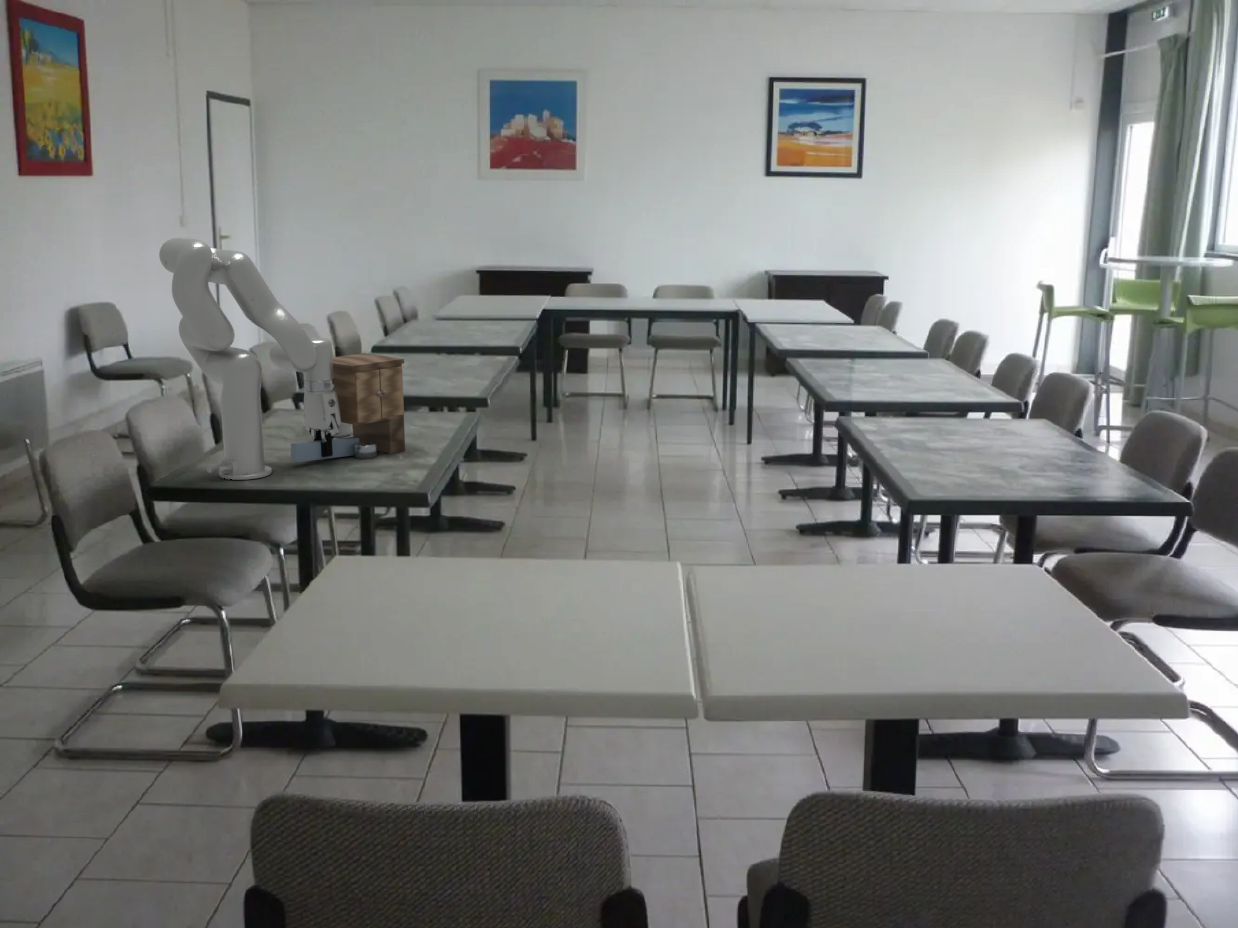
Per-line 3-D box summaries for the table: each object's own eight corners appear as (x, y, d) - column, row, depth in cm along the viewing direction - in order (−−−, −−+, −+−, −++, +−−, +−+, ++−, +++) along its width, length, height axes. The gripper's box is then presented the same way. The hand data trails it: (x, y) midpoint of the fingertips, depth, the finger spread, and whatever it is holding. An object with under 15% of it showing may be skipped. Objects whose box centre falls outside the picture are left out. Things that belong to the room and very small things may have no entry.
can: (354, 433, 360) (352, 392, 357) (346, 438, 352) (344, 397, 350) (329, 432, 360) (326, 392, 358) (320, 437, 353) (318, 396, 350)
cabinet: (360, 462, 323) (356, 366, 317) (318, 452, 334) (312, 359, 329) (411, 451, 335) (407, 359, 330) (368, 442, 347) (363, 353, 341)
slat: (296, 462, 316) (296, 444, 315) (290, 460, 317) (290, 443, 317) (358, 454, 331) (359, 438, 330) (352, 453, 333) (353, 436, 332)
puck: (364, 460, 325) (363, 447, 324) (349, 456, 329) (348, 444, 328) (381, 456, 330) (381, 443, 329) (367, 453, 333) (366, 440, 333)
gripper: (350, 387, 317) (354, 457, 321) (312, 381, 327) (316, 449, 331) (327, 391, 312) (331, 462, 316) (288, 384, 322) (292, 453, 326)
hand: (323, 454), depth 324 cm, fingers closed on slat, 2 cm apart
